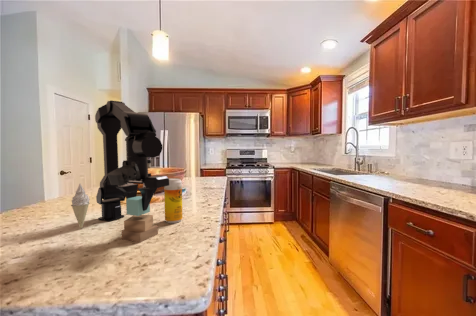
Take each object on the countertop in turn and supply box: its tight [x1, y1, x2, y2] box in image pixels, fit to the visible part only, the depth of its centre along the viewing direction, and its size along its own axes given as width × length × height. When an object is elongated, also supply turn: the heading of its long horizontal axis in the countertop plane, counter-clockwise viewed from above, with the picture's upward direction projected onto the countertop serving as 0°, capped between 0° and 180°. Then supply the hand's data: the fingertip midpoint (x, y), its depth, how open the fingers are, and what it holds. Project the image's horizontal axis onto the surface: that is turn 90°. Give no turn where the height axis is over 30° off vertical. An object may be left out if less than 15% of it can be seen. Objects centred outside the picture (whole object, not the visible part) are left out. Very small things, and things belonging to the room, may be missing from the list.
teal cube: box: [125, 195, 151, 216], centre depth 70 cm, size 4×4×4 cm
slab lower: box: [121, 224, 159, 243], centre depth 71 cm, size 7×7×3 cm
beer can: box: [163, 177, 183, 224], centre depth 85 cm, size 6×6×15 cm
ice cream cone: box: [70, 183, 90, 230], centre depth 78 cm, size 5×5×15 cm
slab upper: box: [123, 214, 154, 232], centre depth 71 cm, size 6×6×3 cm
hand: (138, 209), depth 70 cm, fingers closed on teal cube, 4 cm apart
